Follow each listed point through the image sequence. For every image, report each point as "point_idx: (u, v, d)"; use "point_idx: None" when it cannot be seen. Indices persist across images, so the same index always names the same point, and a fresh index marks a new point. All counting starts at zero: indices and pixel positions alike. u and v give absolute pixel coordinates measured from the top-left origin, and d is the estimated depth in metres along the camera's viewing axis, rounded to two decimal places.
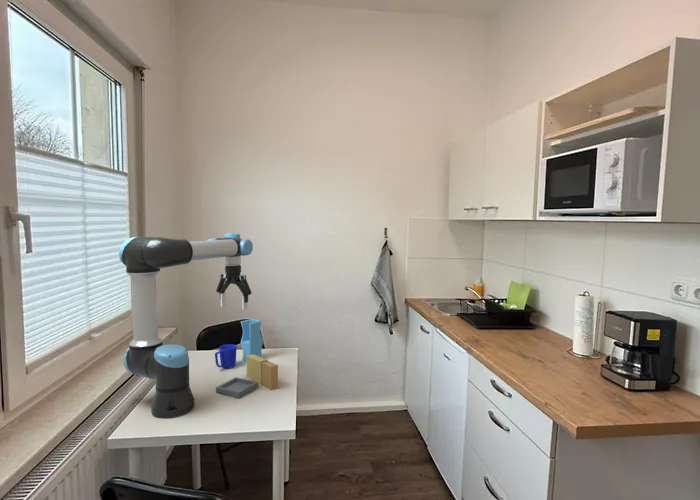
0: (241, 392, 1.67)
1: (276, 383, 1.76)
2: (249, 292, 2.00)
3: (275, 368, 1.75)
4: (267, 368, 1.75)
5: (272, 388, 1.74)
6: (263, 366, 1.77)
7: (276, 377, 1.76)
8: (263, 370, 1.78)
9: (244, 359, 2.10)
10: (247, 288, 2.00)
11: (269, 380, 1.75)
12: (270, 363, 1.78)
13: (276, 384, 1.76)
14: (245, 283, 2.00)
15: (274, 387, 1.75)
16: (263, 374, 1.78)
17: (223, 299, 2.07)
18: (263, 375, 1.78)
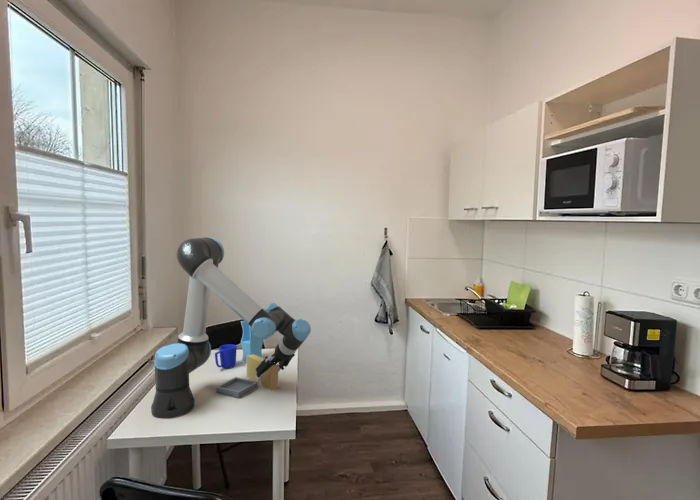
0: (241, 392, 1.67)
1: (276, 383, 1.76)
2: (257, 370, 1.70)
3: (275, 368, 1.75)
4: None
5: (272, 388, 1.74)
6: None
7: (276, 377, 1.76)
8: None
9: (244, 359, 2.10)
10: (259, 367, 1.69)
11: (269, 380, 1.75)
12: None
13: (276, 384, 1.76)
14: (262, 363, 1.68)
15: (274, 387, 1.75)
16: None
17: None
18: (263, 375, 1.78)
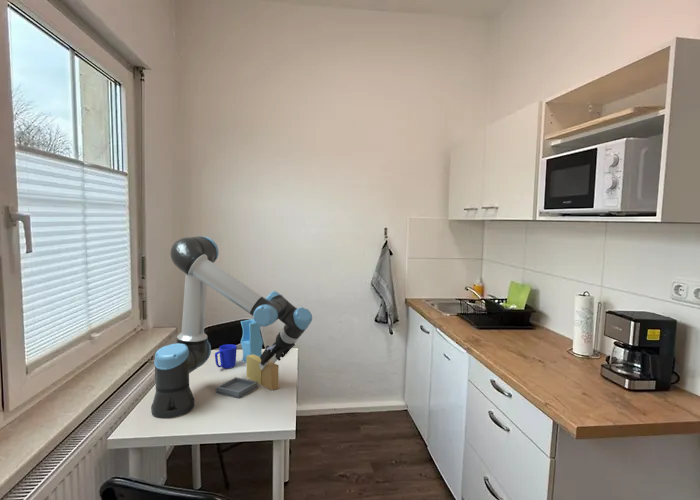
0: (241, 392, 1.67)
1: (276, 383, 1.75)
2: (261, 359, 1.71)
3: (276, 368, 1.75)
4: (268, 368, 1.75)
5: (272, 388, 1.74)
6: None
7: (277, 377, 1.75)
8: (263, 370, 1.77)
9: (244, 359, 2.10)
10: (262, 355, 1.70)
11: (269, 380, 1.74)
12: (271, 363, 1.77)
13: (276, 384, 1.75)
14: (265, 352, 1.69)
15: (274, 387, 1.75)
16: (263, 374, 1.77)
17: (271, 360, 1.79)
18: (263, 375, 1.77)
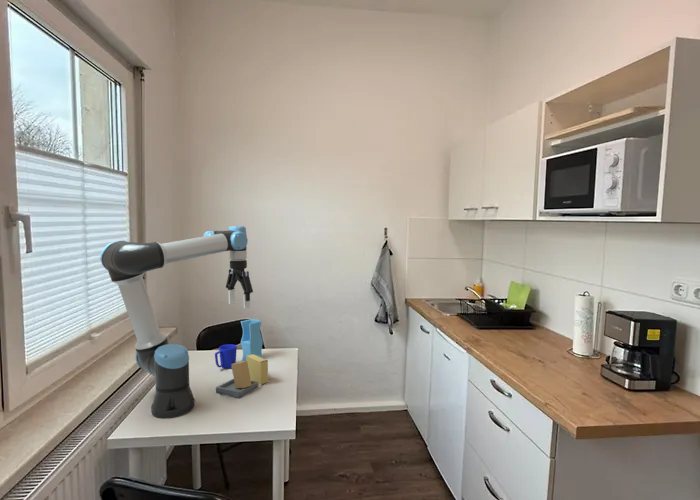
0: (241, 392, 1.67)
1: (249, 380, 1.71)
2: (250, 290, 1.84)
3: (245, 364, 1.72)
4: (237, 366, 1.72)
5: (245, 385, 1.70)
6: (233, 366, 1.74)
7: (247, 374, 1.72)
8: (234, 371, 1.74)
9: (244, 359, 2.10)
10: (248, 285, 1.84)
11: (241, 378, 1.70)
12: (240, 362, 1.74)
13: (249, 381, 1.71)
14: (246, 280, 1.85)
15: (247, 384, 1.70)
16: (234, 375, 1.74)
17: (231, 296, 1.96)
18: (235, 376, 1.74)
